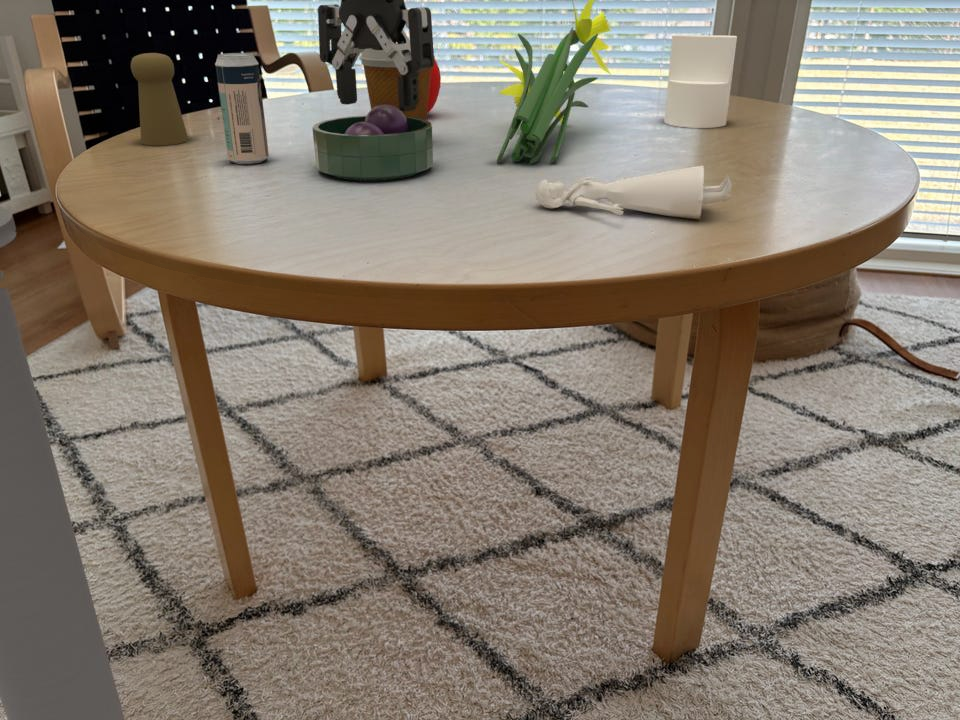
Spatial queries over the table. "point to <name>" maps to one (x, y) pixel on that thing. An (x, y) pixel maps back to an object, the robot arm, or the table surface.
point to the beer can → (242, 107)
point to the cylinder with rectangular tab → (699, 80)
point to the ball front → (388, 119)
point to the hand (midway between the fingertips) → (377, 106)
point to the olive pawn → (158, 100)
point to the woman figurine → (641, 193)
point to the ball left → (364, 129)
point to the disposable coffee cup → (391, 82)
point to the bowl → (372, 150)
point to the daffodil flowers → (551, 87)
